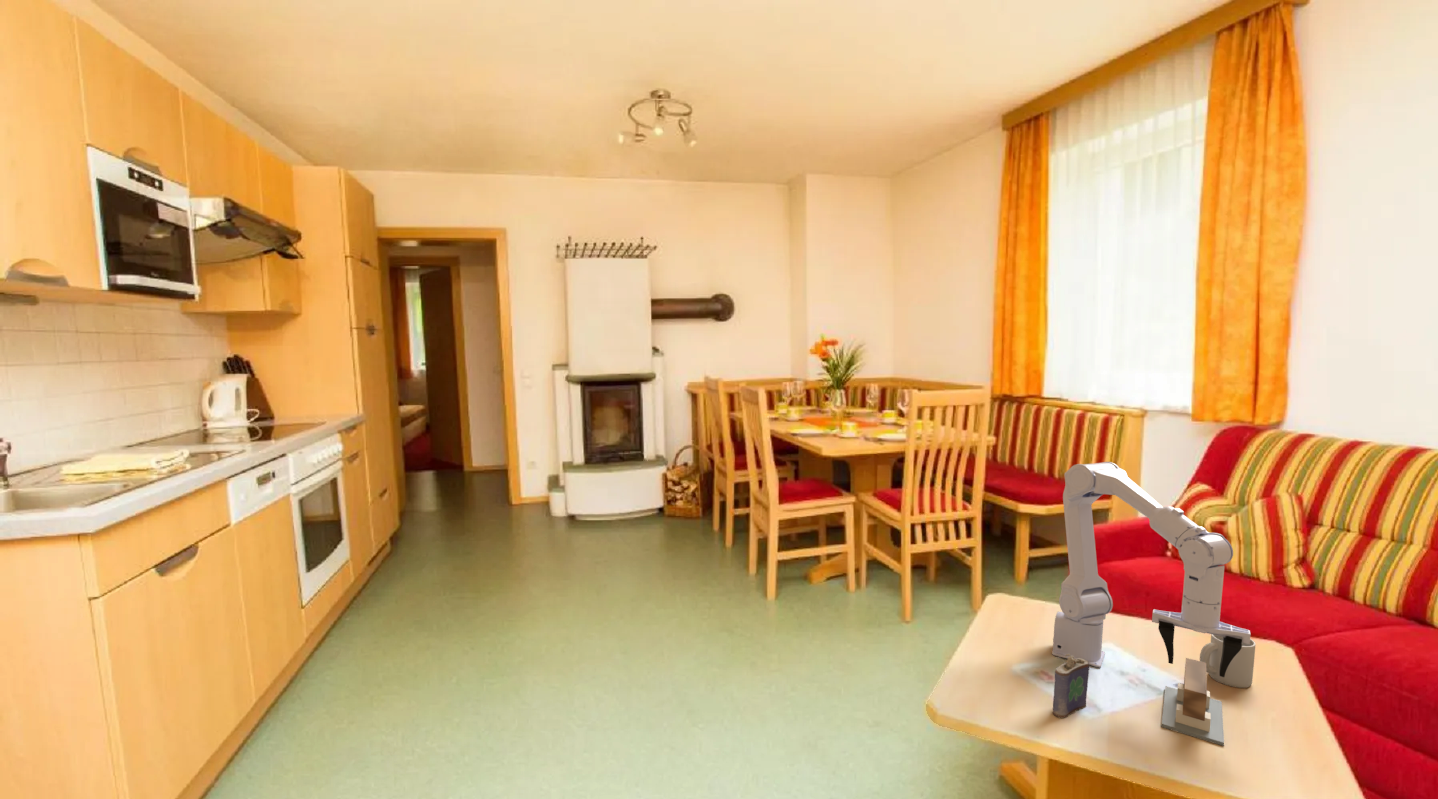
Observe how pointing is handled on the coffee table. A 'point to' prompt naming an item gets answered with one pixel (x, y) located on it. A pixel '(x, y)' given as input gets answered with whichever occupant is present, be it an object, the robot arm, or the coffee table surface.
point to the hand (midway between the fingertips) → (1195, 667)
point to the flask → (1070, 686)
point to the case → (1195, 689)
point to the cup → (1238, 668)
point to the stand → (1191, 726)
